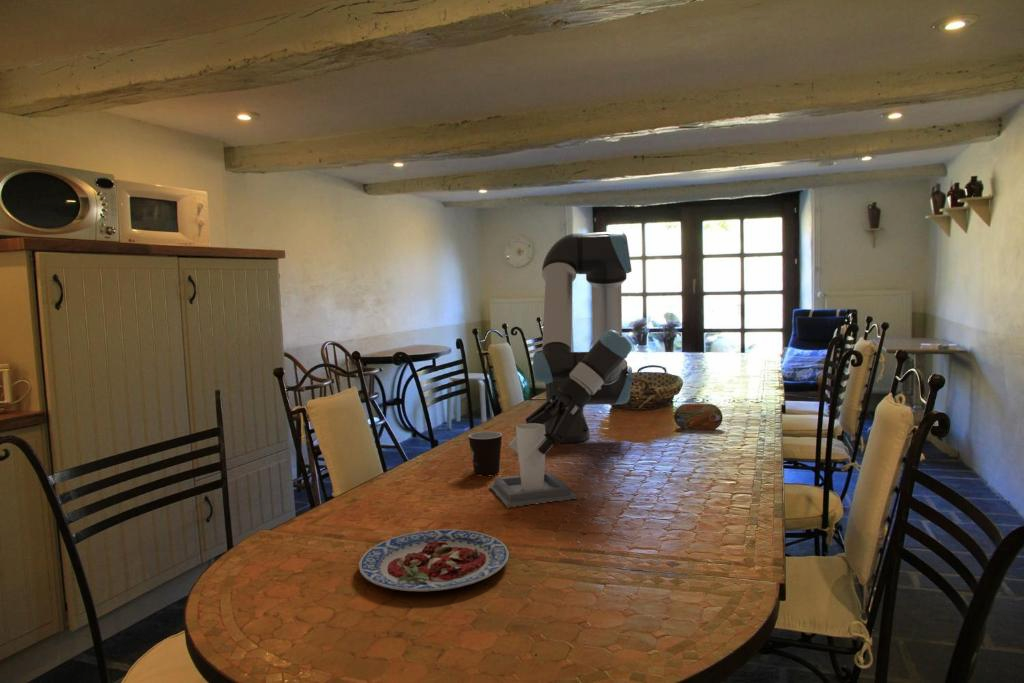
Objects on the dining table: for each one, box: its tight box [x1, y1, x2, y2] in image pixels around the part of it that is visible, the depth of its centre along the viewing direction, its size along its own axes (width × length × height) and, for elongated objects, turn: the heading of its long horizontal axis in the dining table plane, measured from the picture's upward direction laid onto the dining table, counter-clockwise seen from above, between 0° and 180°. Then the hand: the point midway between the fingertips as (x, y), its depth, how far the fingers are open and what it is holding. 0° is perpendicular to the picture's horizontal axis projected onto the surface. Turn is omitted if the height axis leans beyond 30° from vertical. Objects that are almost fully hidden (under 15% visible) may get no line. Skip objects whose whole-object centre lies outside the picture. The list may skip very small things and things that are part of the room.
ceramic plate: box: [358, 528, 510, 592], centre depth 117 cm, size 26×26×3 cm
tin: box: [673, 403, 724, 431], centre depth 217 cm, size 15×3×8 cm, turn 73°
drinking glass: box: [515, 423, 546, 491], centre depth 155 cm, size 7×7×15 cm
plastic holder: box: [489, 471, 577, 508], centre depth 156 cm, size 16×16×2 cm
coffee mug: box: [468, 431, 503, 477], centre depth 176 cm, size 12×9×10 cm
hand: (520, 455), depth 155 cm, fingers open, 13 cm apart
